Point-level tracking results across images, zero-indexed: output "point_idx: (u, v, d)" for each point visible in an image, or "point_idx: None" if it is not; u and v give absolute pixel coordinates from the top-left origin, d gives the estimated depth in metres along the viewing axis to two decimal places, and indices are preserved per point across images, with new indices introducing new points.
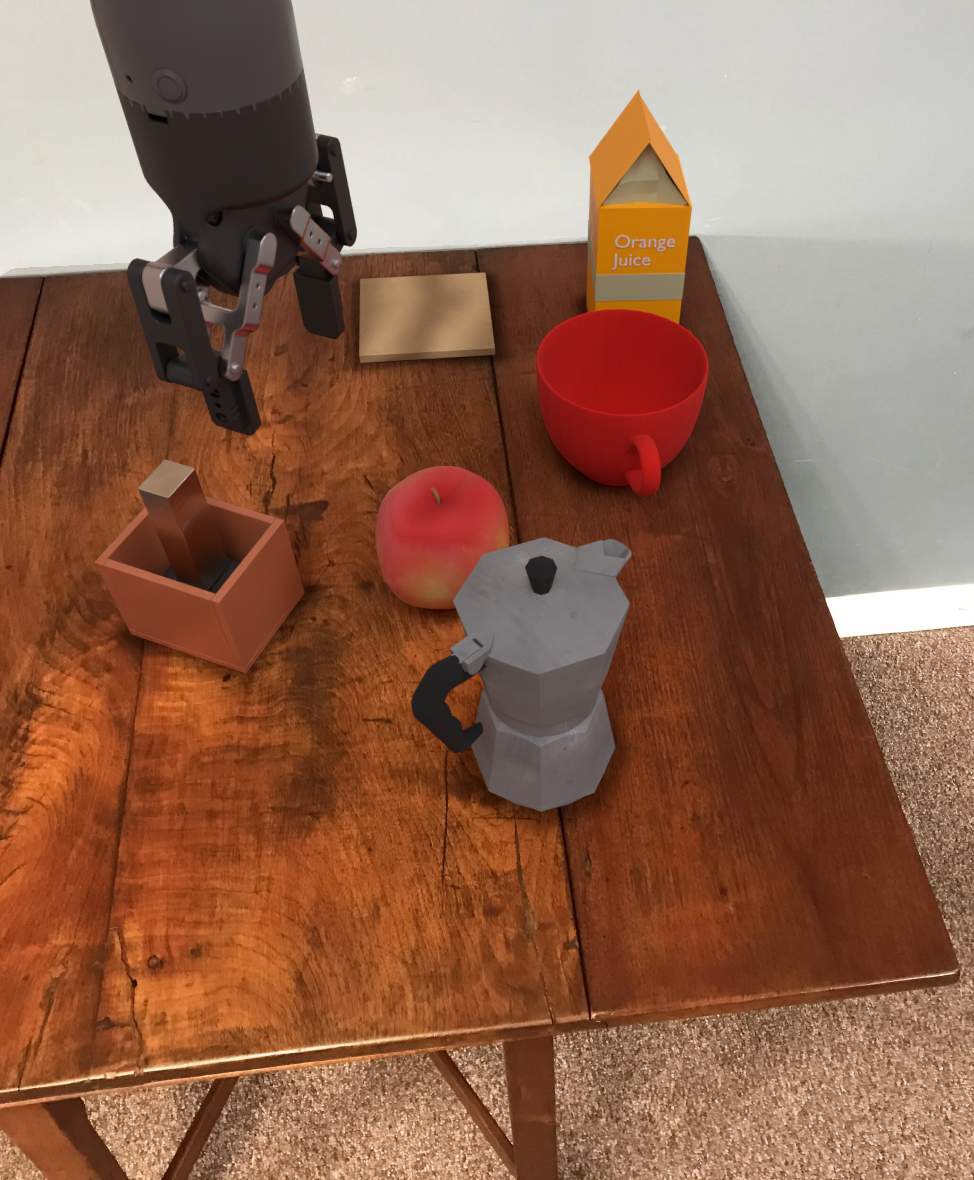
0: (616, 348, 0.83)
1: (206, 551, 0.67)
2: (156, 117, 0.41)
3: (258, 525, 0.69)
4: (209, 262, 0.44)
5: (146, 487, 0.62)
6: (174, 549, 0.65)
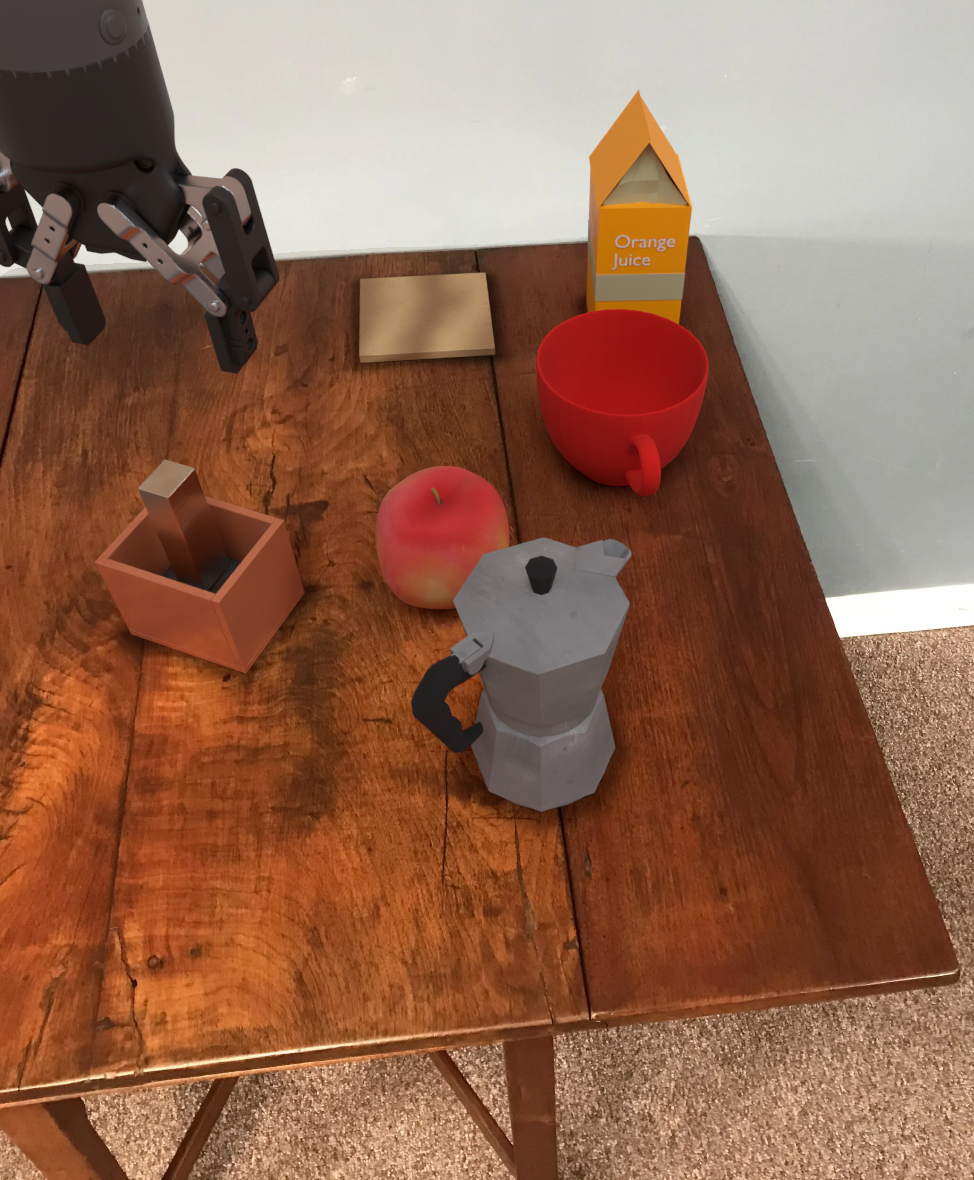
0: (616, 348, 0.83)
1: (206, 551, 0.67)
2: None
3: (258, 525, 0.69)
4: (12, 173, 0.47)
5: (146, 487, 0.62)
6: (174, 549, 0.65)
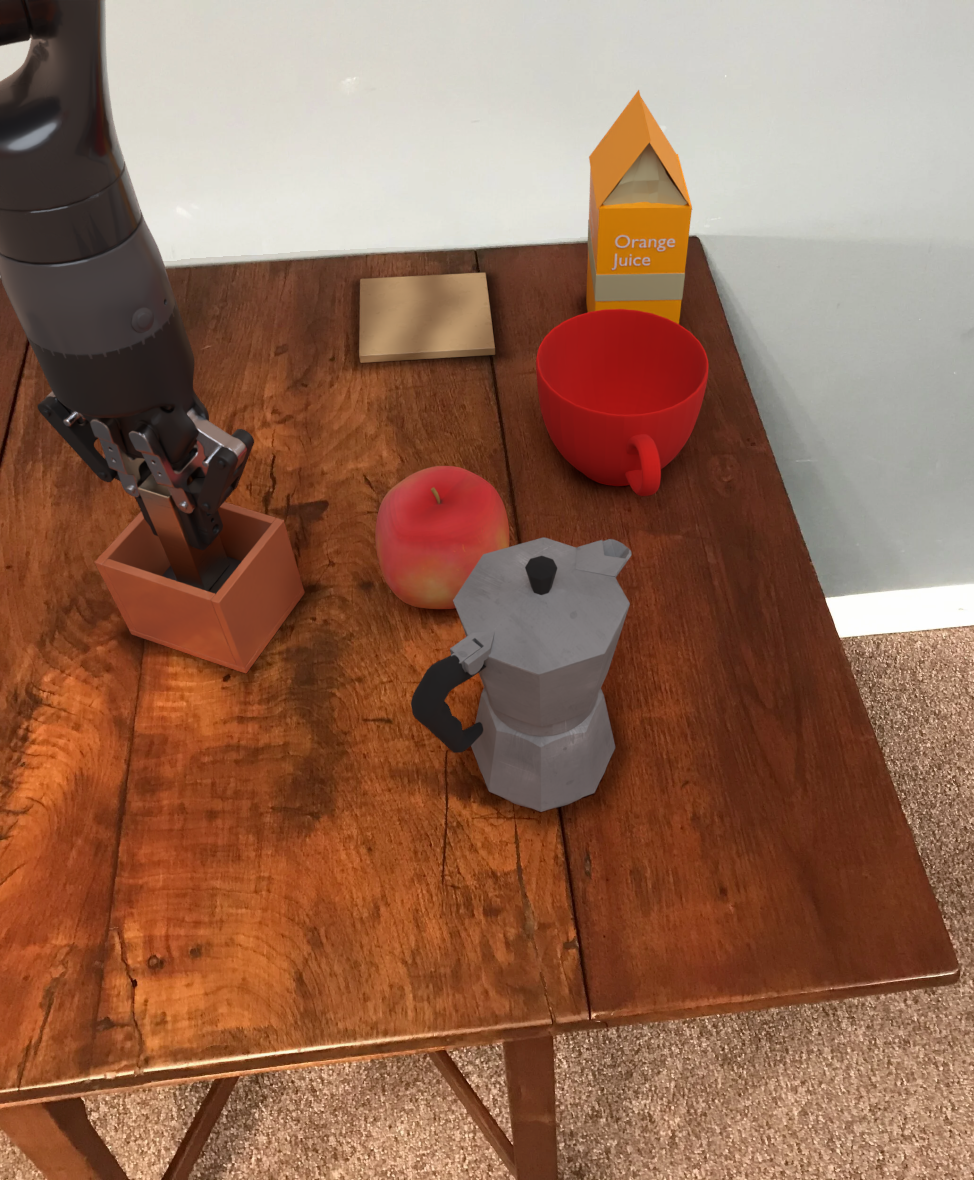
0: (616, 348, 0.83)
1: (206, 551, 0.67)
2: None
3: (258, 525, 0.69)
4: None
5: (146, 487, 0.62)
6: (174, 549, 0.65)
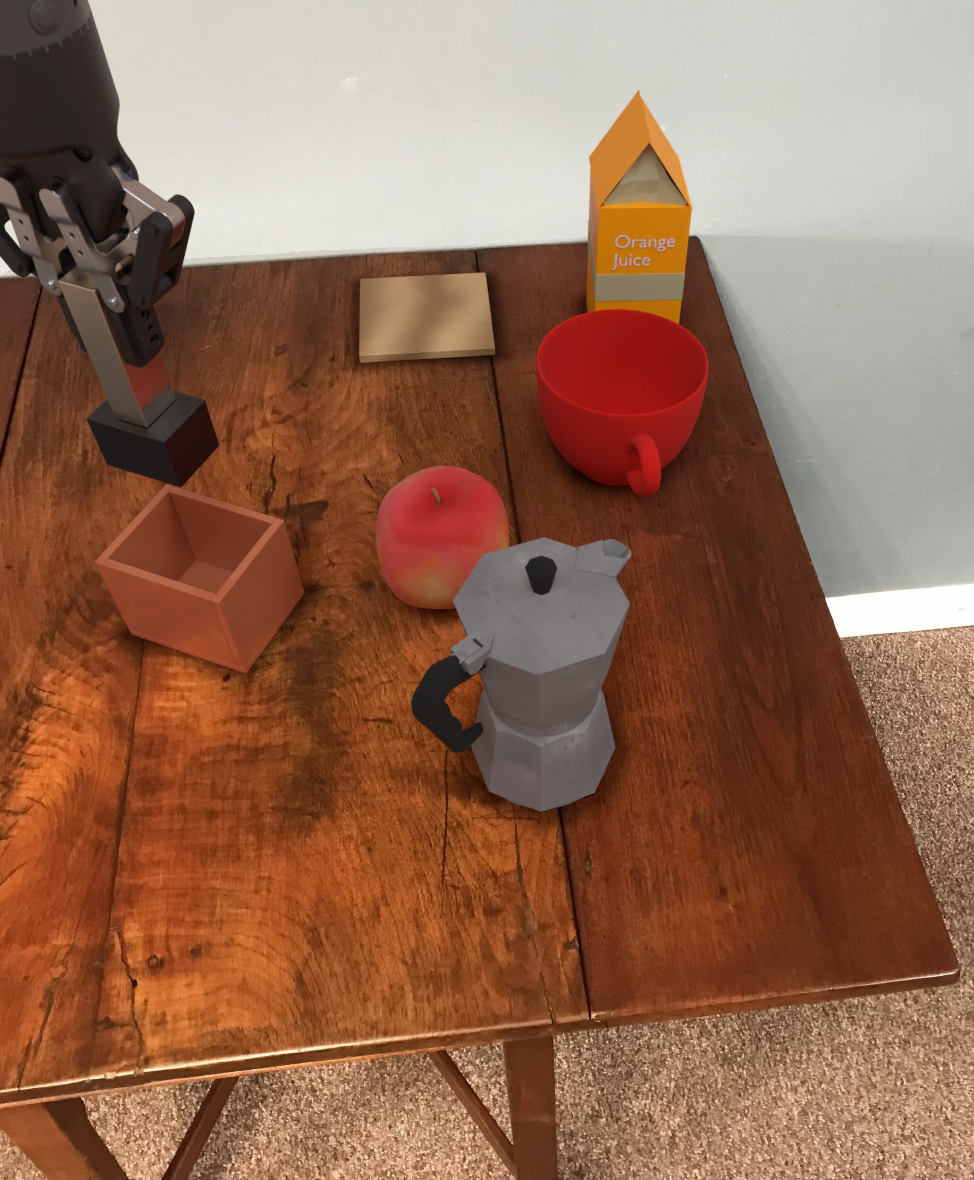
0: (616, 348, 0.83)
1: (146, 374, 0.56)
2: None
3: (258, 525, 0.69)
4: None
5: (68, 280, 0.51)
6: (106, 367, 0.55)
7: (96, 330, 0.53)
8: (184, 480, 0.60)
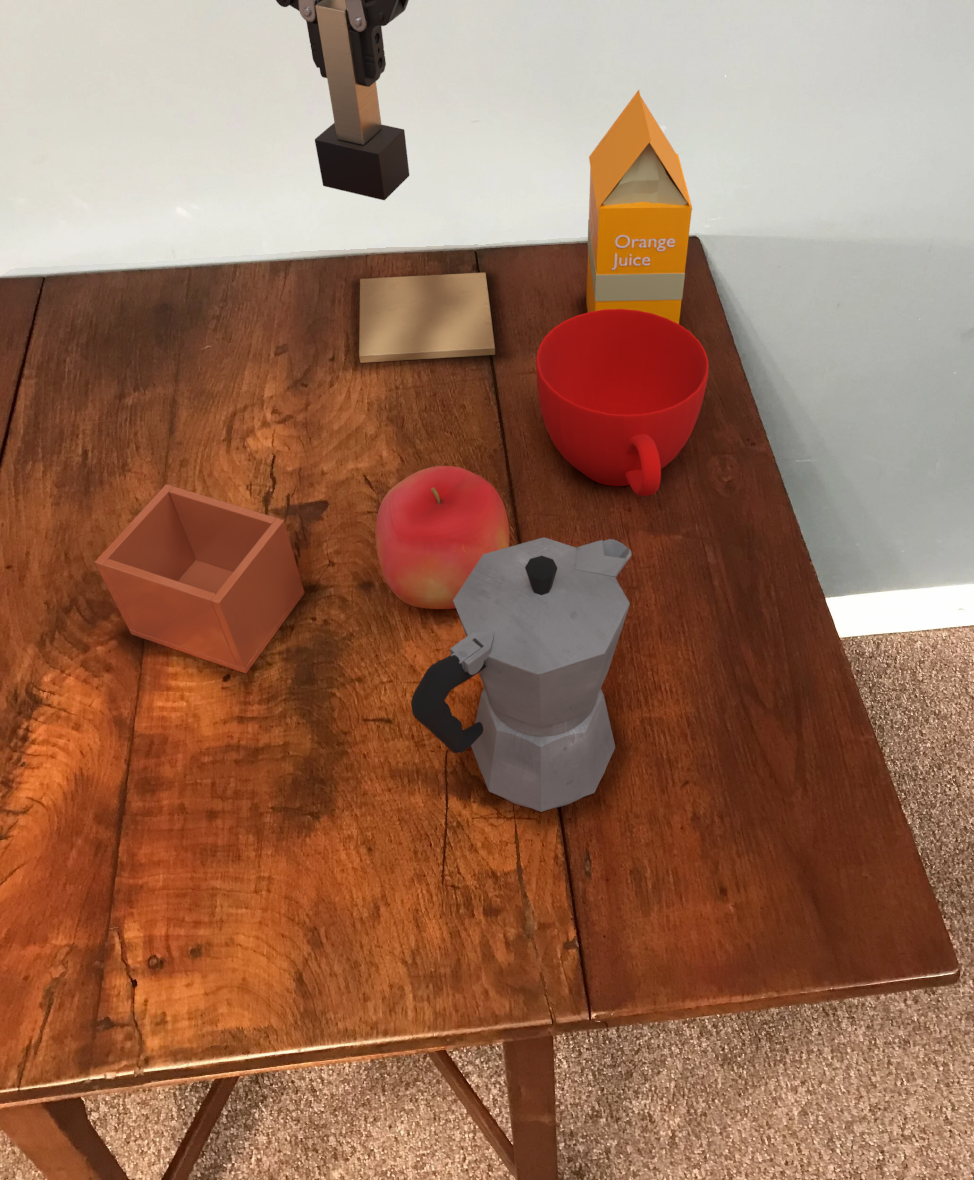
0: (616, 348, 0.83)
1: (366, 97, 0.72)
2: None
3: (258, 525, 0.69)
4: None
5: (323, 5, 0.67)
6: (339, 87, 0.71)
7: (338, 50, 0.69)
8: (387, 195, 0.76)
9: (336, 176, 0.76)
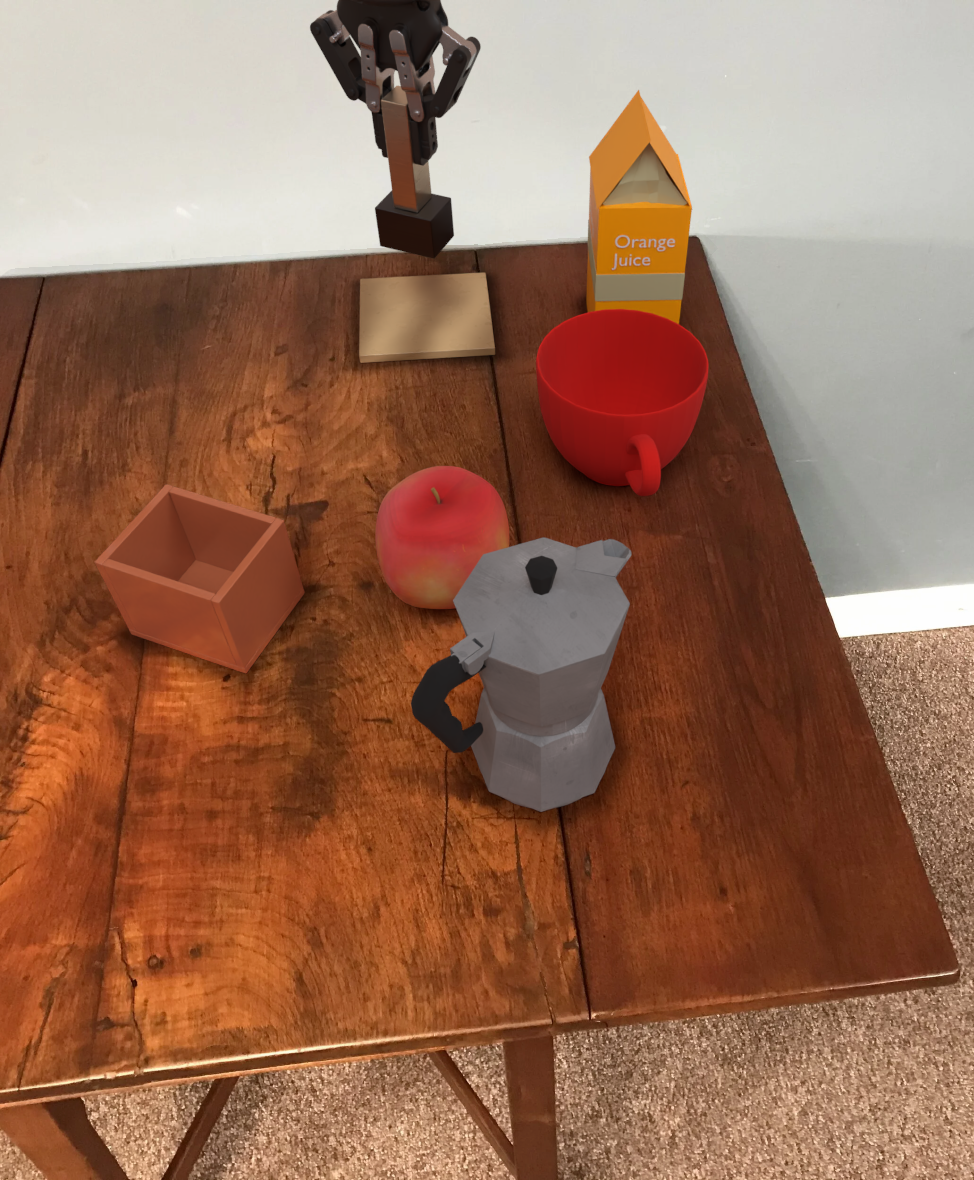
0: (616, 348, 0.83)
1: (421, 173, 0.84)
2: None
3: (258, 525, 0.69)
4: (340, 20, 0.76)
5: (387, 99, 0.79)
6: (398, 165, 0.83)
7: (399, 136, 0.81)
8: (436, 254, 0.88)
9: (392, 238, 0.88)
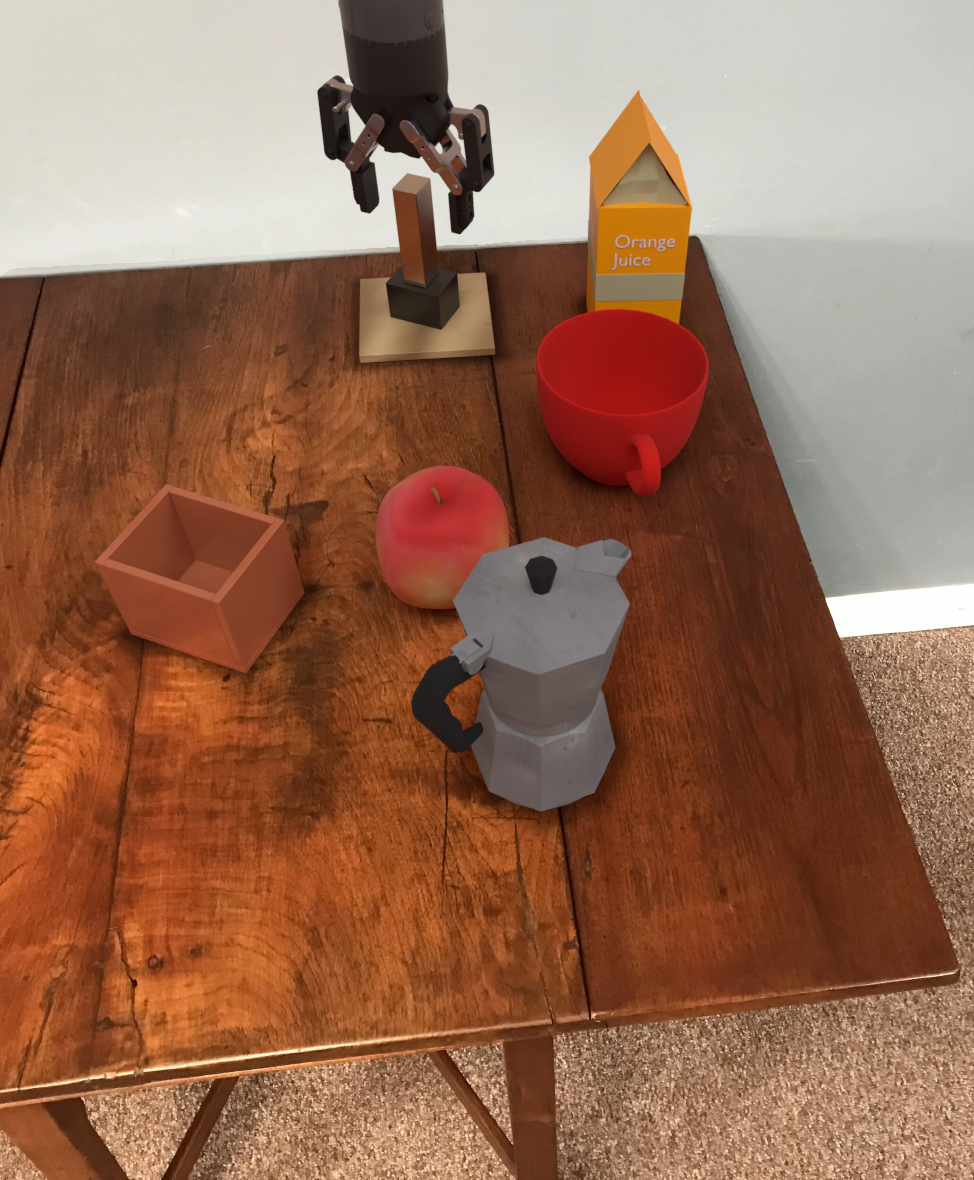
0: (616, 348, 0.83)
1: (429, 252, 0.90)
2: None
3: (258, 525, 0.69)
4: (350, 101, 0.81)
5: (398, 188, 0.85)
6: (408, 246, 0.88)
7: (409, 220, 0.86)
8: (443, 325, 0.93)
9: (402, 310, 0.93)
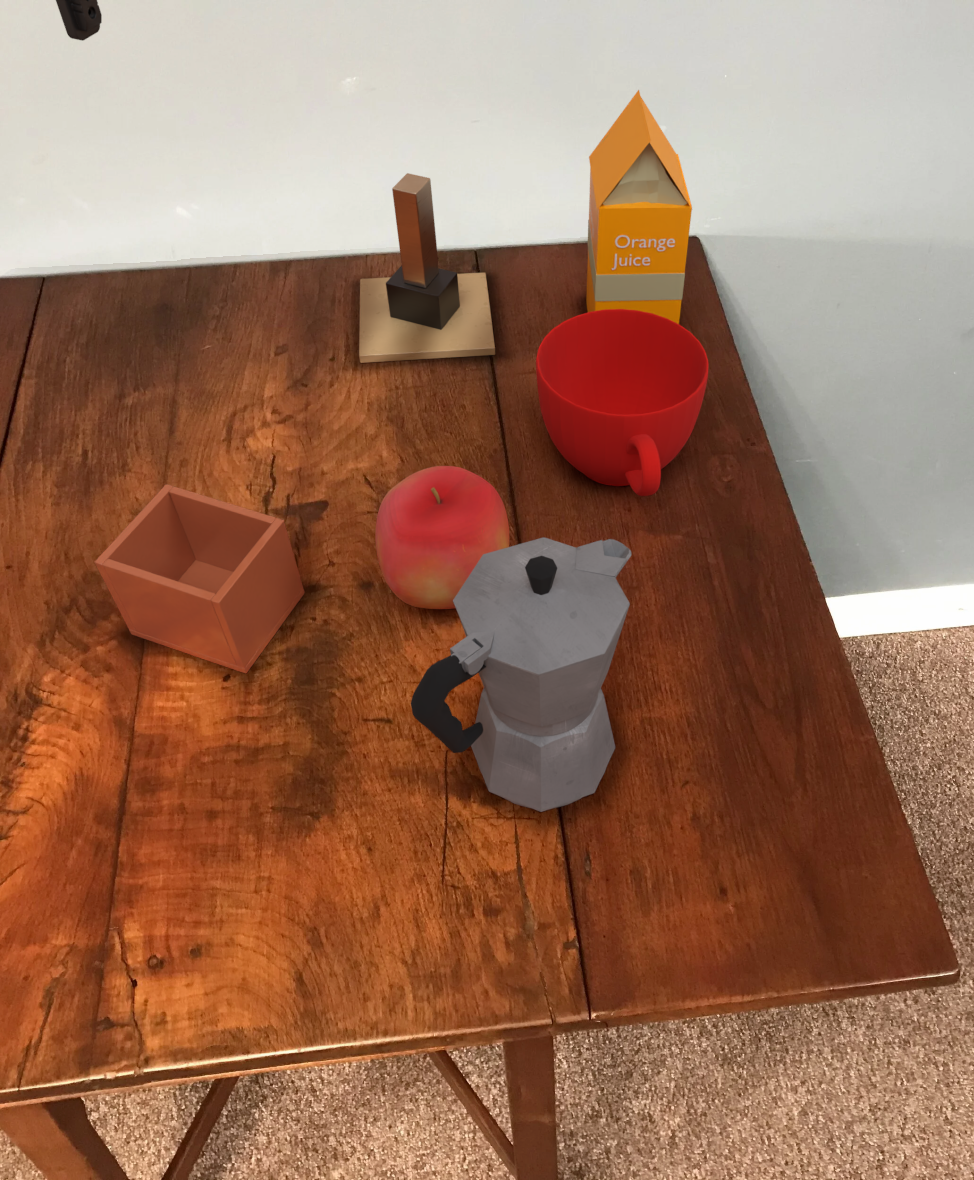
0: (616, 348, 0.83)
1: (429, 252, 0.90)
2: None
3: (258, 525, 0.69)
4: None
5: (398, 188, 0.85)
6: (408, 246, 0.88)
7: (409, 220, 0.86)
8: (443, 325, 0.93)
9: (402, 310, 0.93)
